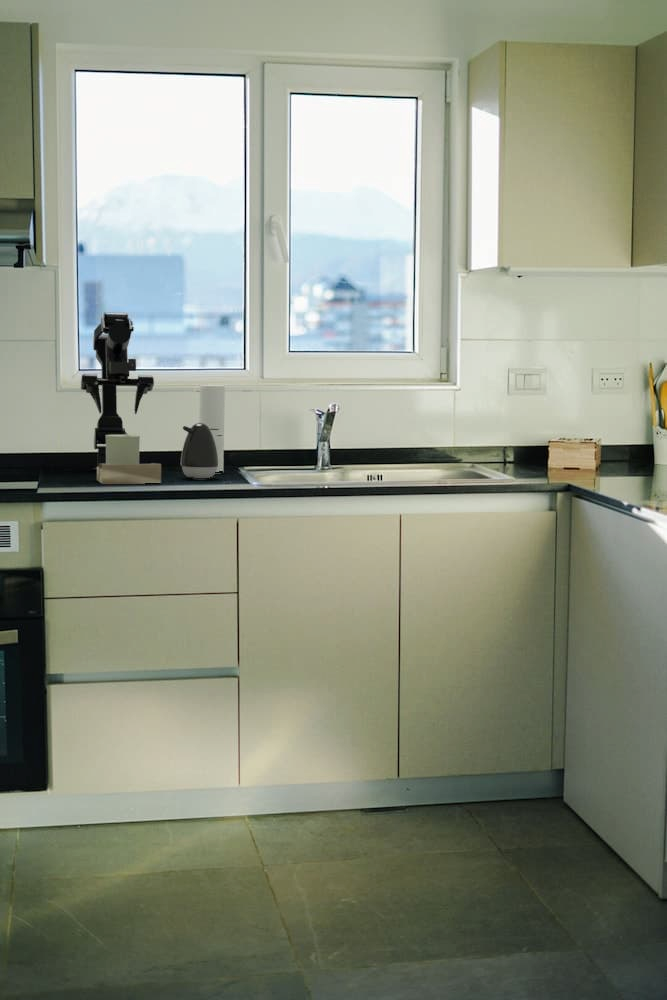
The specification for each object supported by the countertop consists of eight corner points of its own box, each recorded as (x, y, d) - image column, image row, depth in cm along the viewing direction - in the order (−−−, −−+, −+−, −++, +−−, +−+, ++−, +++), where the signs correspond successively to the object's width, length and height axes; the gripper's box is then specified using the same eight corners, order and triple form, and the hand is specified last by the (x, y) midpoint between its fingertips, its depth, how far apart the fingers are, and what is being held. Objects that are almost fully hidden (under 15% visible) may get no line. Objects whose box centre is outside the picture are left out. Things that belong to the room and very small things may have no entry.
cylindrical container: (195, 471, 356) (196, 385, 353) (218, 471, 359) (219, 385, 356) (203, 473, 349) (204, 385, 346) (226, 473, 352) (228, 386, 349)
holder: (96, 480, 322) (96, 461, 321) (153, 479, 327) (153, 461, 326) (102, 484, 312) (102, 464, 311) (161, 483, 317) (161, 464, 316)
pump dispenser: (172, 477, 334) (173, 422, 332) (204, 476, 341) (205, 421, 339) (192, 481, 326) (193, 424, 325) (225, 479, 333) (226, 423, 331)
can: (115, 480, 322) (116, 435, 321) (98, 477, 329) (98, 433, 328) (146, 479, 328) (146, 434, 327) (128, 476, 335) (129, 432, 334)
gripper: (82, 345, 316) (83, 403, 312) (155, 347, 321) (157, 404, 317) (80, 360, 326) (81, 416, 323) (150, 362, 331) (152, 417, 328)
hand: (118, 413), depth 322 cm, fingers open, 9 cm apart
